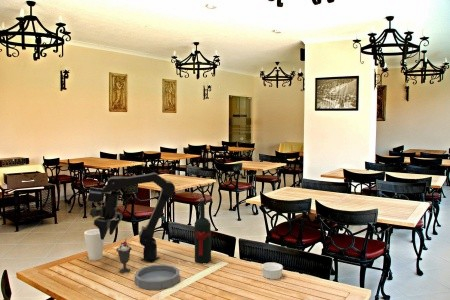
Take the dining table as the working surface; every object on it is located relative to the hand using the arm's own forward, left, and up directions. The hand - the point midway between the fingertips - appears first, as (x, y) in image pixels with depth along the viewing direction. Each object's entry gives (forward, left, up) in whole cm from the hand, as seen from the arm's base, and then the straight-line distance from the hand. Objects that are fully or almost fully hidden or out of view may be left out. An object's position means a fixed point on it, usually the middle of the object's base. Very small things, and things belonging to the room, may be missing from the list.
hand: (106, 237), depth 179 cm
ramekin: (-18, +74, -13) cm, 78 cm away
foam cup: (-3, -11, -13) cm, 17 cm away
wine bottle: (-20, +39, -13) cm, 46 cm away
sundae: (+4, +13, -13) cm, 19 cm away
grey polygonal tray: (+6, +32, -13) cm, 35 cm away
